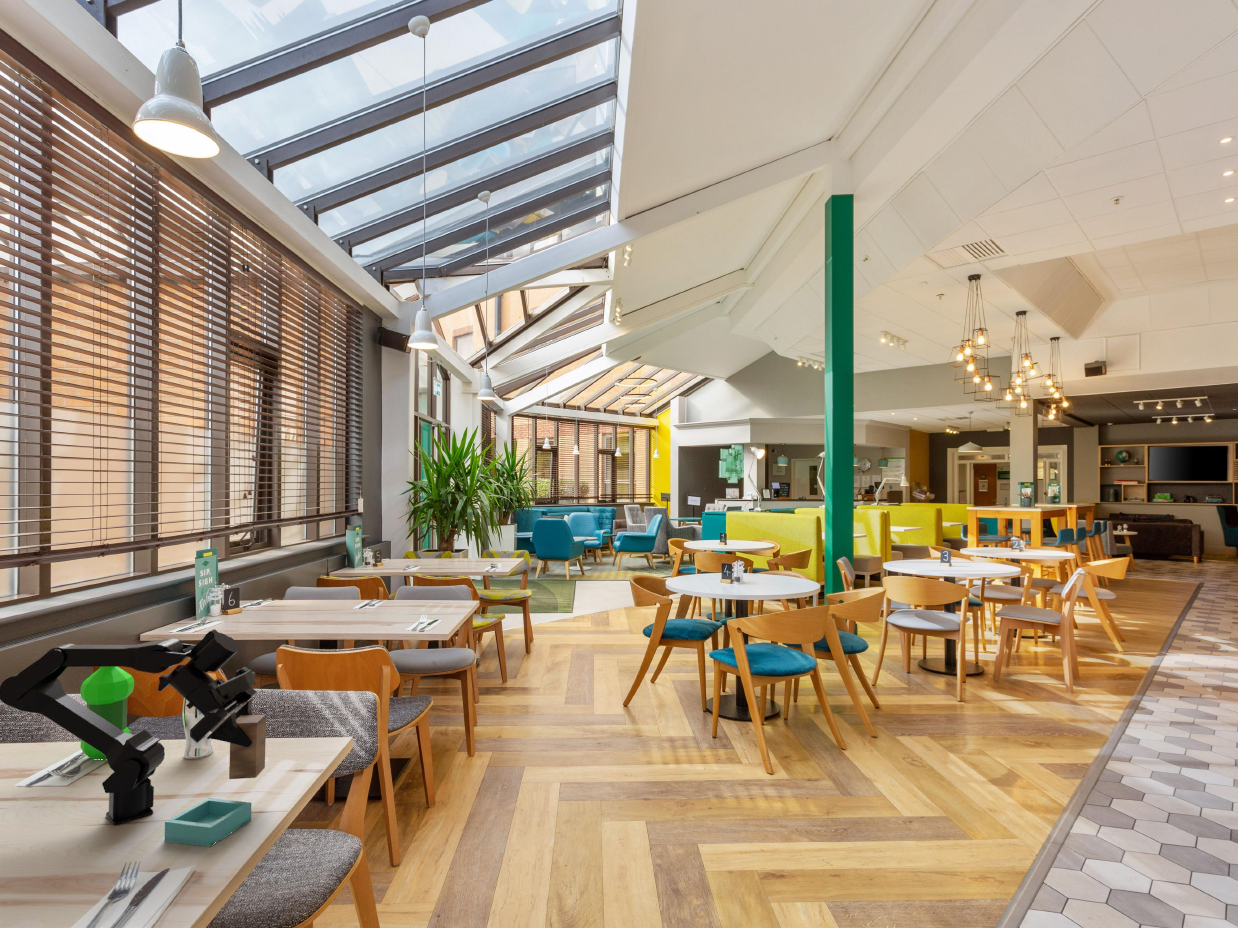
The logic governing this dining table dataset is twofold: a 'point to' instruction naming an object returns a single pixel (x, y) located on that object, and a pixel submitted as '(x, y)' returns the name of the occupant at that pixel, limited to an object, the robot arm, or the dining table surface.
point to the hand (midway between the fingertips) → (255, 740)
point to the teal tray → (207, 822)
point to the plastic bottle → (107, 700)
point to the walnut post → (249, 748)
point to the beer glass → (192, 748)
